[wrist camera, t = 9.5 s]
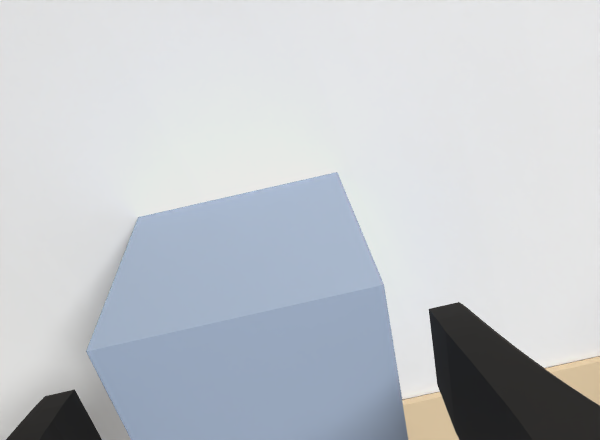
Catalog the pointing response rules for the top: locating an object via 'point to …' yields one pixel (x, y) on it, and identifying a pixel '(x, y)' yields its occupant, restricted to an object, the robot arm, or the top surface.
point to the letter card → (437, 424)
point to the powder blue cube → (251, 323)
